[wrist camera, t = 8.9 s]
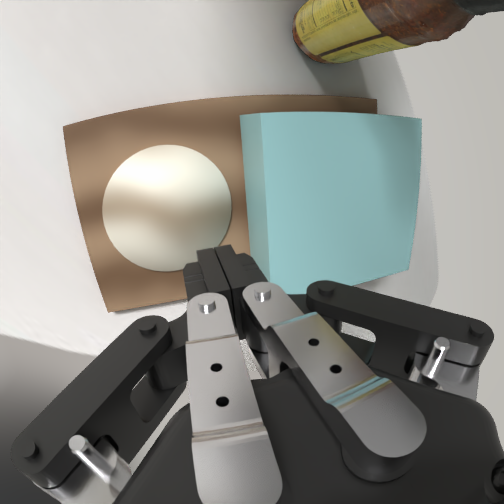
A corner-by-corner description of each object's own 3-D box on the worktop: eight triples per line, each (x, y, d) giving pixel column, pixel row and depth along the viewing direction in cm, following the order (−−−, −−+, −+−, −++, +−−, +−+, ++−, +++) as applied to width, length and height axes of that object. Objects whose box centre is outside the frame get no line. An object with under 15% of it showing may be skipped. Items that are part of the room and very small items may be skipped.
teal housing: (239, 115, 20) (260, 112, 16) (382, 115, 23) (421, 118, 19) (252, 274, 26) (271, 306, 22) (376, 247, 29) (408, 269, 24)
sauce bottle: (359, 30, 21) (558, 3, 3) (334, 79, 22) (562, 78, 5) (302, -10, 18) (487, -101, 1) (271, 39, 20) (488, -56, 2)
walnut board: (66, 126, 18) (61, 126, 17) (370, 99, 24) (378, 99, 23) (109, 306, 25) (107, 314, 24) (365, 254, 31) (372, 260, 30)
